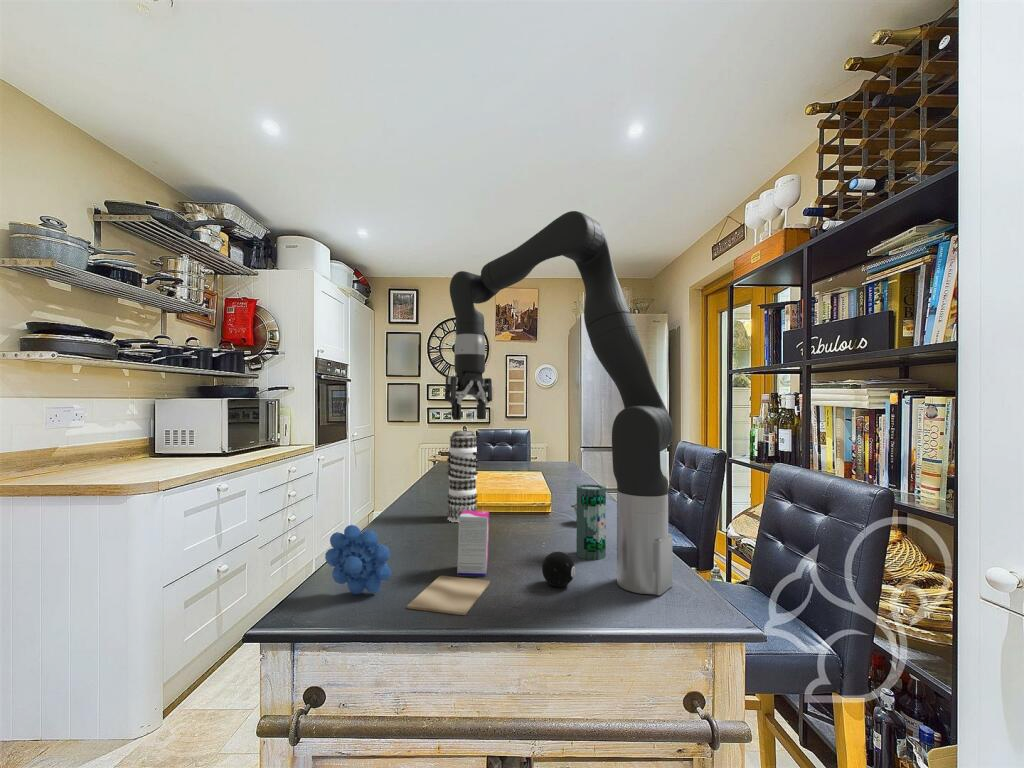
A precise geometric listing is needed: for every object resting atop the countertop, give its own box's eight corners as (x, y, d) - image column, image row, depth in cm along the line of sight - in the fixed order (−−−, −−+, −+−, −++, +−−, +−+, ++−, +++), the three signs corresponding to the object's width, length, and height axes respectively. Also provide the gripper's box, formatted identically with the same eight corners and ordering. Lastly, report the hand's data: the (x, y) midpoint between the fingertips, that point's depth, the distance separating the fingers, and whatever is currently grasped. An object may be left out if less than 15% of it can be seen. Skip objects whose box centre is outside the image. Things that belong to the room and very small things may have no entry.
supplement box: (486, 576, 93) (487, 517, 93) (456, 576, 93) (457, 516, 94) (489, 566, 99) (489, 510, 99) (460, 565, 99) (460, 509, 99)
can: (592, 561, 102) (592, 490, 103) (571, 554, 107) (571, 486, 107) (610, 555, 106) (610, 487, 106) (589, 549, 111) (589, 483, 111)
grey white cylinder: (466, 513, 144) (467, 429, 144) (484, 519, 137) (485, 431, 137) (439, 518, 138) (441, 431, 139) (458, 525, 131) (459, 432, 132)
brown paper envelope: (440, 577, 92) (440, 575, 92) (490, 582, 90) (490, 580, 90) (406, 608, 79) (407, 605, 79) (464, 615, 76) (464, 612, 76)
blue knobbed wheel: (314, 604, 80) (315, 531, 80) (330, 588, 87) (331, 521, 87) (383, 605, 80) (385, 532, 80) (394, 589, 87) (395, 521, 87)
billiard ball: (549, 577, 93) (550, 545, 93) (579, 582, 90) (579, 550, 91) (536, 587, 88) (537, 554, 88) (567, 594, 85) (567, 559, 85)
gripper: (459, 350, 111) (459, 420, 111) (500, 355, 122) (499, 419, 122) (437, 352, 116) (437, 419, 115) (478, 356, 127) (477, 418, 126)
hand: (469, 419), depth 118 cm, fingers open, 8 cm apart
